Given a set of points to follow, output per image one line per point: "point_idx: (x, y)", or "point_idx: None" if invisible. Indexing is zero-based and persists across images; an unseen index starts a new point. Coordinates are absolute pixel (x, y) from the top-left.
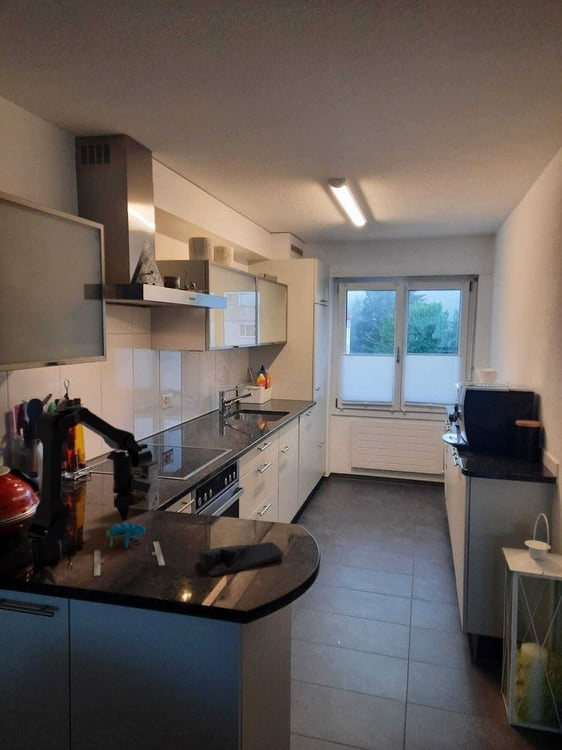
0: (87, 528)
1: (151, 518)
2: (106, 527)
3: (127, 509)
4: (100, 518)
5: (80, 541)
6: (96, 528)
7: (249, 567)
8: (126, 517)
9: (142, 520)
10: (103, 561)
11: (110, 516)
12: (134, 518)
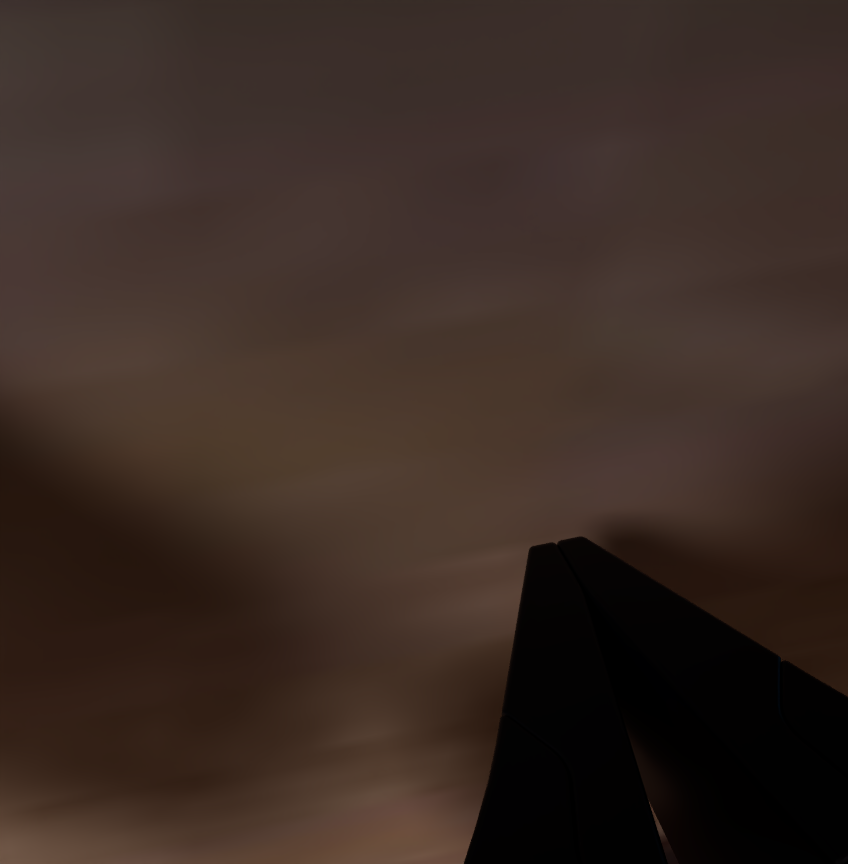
0: (458, 850)
1: (75, 24)
2: (469, 701)
3: (828, 709)
4: (128, 820)
5: None
6: (479, 782)
7: None
8: (614, 562)
9: (210, 234)
10: None
11: (40, 744)
12: (101, 409)
